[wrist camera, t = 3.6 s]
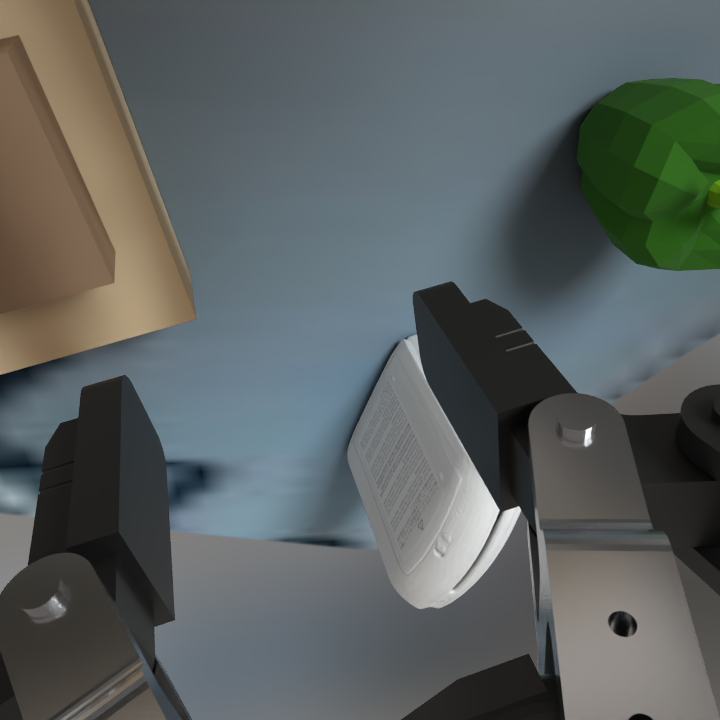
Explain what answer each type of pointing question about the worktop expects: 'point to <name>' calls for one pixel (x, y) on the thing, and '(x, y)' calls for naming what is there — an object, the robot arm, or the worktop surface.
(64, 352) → the oak deck
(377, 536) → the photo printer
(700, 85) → the bell pepper
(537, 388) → the robot arm
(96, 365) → the worktop surface
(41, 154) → the walnut tile
